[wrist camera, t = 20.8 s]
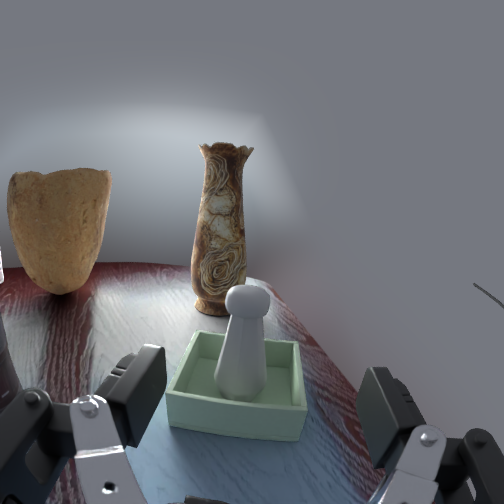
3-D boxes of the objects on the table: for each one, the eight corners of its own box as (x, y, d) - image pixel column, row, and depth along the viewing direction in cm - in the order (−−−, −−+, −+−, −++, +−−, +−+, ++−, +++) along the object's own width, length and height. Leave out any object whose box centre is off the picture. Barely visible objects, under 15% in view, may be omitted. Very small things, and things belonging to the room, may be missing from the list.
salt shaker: (271, 386, 33) (287, 287, 30) (252, 415, 27) (268, 306, 24) (227, 372, 35) (234, 275, 32) (204, 397, 30) (207, 290, 27)
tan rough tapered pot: (128, 281, 63) (130, 169, 57) (84, 325, 41) (78, 166, 36) (51, 271, 62) (50, 170, 56) (-3, 303, 40) (-13, 172, 34)
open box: (195, 359, 38) (196, 329, 37) (292, 370, 38) (298, 341, 36) (168, 425, 25) (165, 392, 24) (298, 442, 25) (307, 410, 24)
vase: (218, 323, 49) (233, 140, 42) (177, 303, 55) (186, 142, 48) (253, 306, 58) (269, 150, 51) (213, 291, 64) (224, 149, 57)
